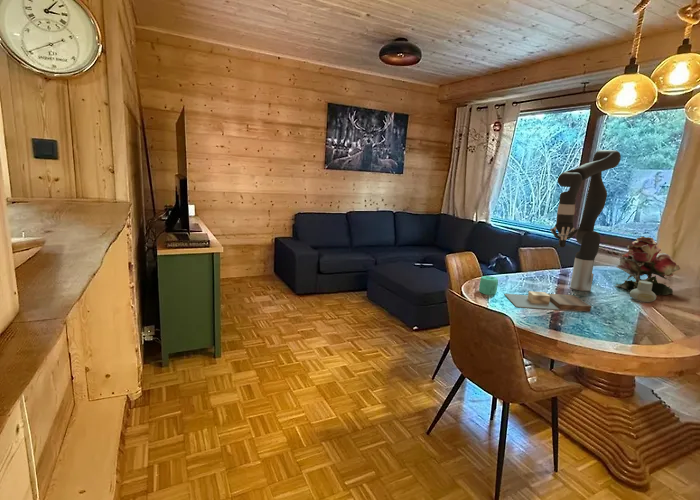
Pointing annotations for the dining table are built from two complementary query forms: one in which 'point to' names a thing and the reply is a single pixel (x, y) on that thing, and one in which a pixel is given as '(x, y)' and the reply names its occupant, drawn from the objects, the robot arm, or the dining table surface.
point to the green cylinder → (488, 285)
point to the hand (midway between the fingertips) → (561, 247)
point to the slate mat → (528, 302)
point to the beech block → (538, 297)
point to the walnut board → (569, 302)
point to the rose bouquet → (647, 265)
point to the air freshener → (643, 292)
